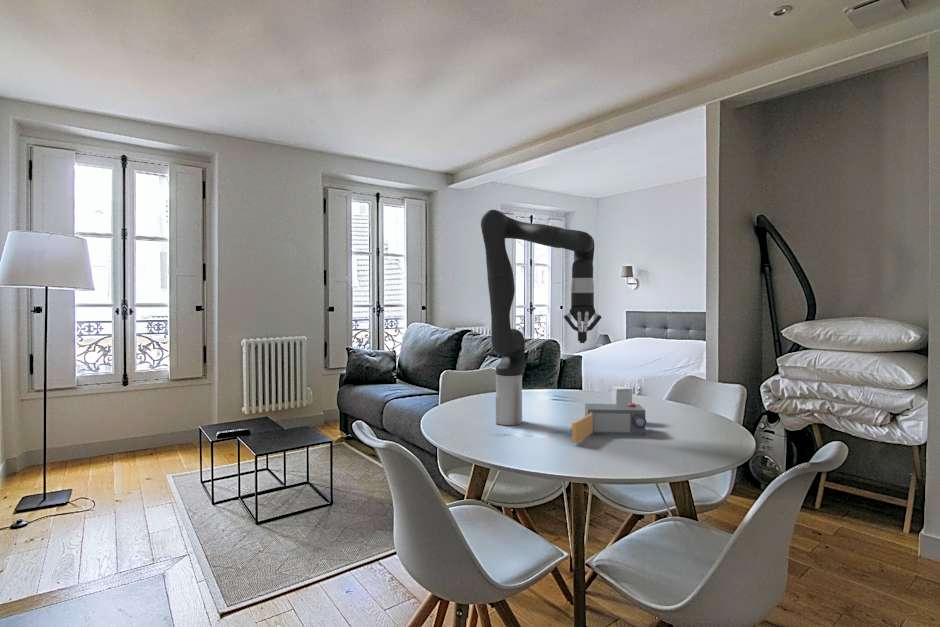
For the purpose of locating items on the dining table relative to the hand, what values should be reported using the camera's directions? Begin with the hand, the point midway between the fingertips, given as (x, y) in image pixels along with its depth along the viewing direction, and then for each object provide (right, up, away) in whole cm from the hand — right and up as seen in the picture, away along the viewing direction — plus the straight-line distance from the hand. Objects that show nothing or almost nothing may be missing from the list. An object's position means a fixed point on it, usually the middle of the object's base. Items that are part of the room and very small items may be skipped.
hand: (582, 342), depth 173 cm
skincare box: (+16, -29, +9) cm, 34 cm away
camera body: (+10, -29, -4) cm, 31 cm away
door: (-3, -29, -14) cm, 32 cm away
